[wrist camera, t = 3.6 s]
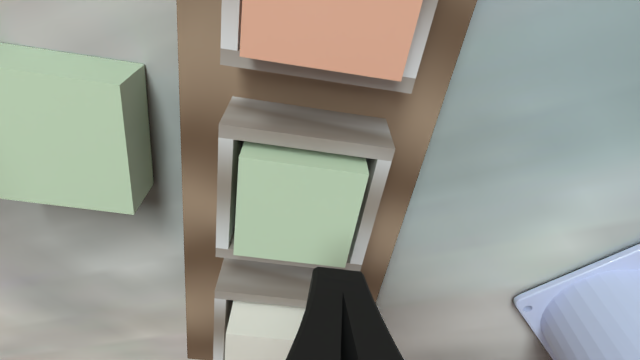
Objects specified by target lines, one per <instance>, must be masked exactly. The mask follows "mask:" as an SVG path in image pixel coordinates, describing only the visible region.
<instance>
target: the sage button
mask: <svg viewBox="0 0 640 360" xmlns="http://www.w3.org/2000/svg"><path fill="white" fill-rule="evenodd" d="M368 177H369V171H368V166H367V160H366V158H363V157H356V156H349V155H342V154H334V153H327V152H320V151H313V150H305V149H298V148H291V147H284V146H276V145H269V144H262V143H255V142H247V141H244V143H243V146H242V149H241V152H240V155H239V162H238V180H237V198H236V216H235V234H234V252H233V255H238V256H247V257H255V258H264V259H273V260H281V261H290V262H298V263H307V264H316V265H324V266H333V267H342V268H345V266H346V262H347V258H348V254H349V251H350V247H351V243H352V239H353V235H354V231H355V227H356V224H357V220H358V216H359V212H360V208H361V204H362V200H363V197H364V193H365V189H366V185H367V181H368Z"/></svg>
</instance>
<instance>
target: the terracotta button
mask: <svg viewBox="0 0 640 360" xmlns="http://www.w3.org/2000/svg"><path fill="white" fill-rule="evenodd" d="M422 2H423V0H242V16H241V36H240V57H245V58H251V59H258V60H264V61H271V62H277V63H284V64H290V65H296V66H303V67H309V68H316V69H322V70H329V71H335V72H342V73H348V74H355V75H361V76H368V77H374V78H381V79H387V80H394V81H400V82H401V80H402V76H403V72H404V69H405V65H406V61H407V58H408V54H409V50H410V46H411V43H412V39H413V35H414V32H415V28H416V24H417V20H418V17H419V13H420V9H421V6H422Z"/></svg>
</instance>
